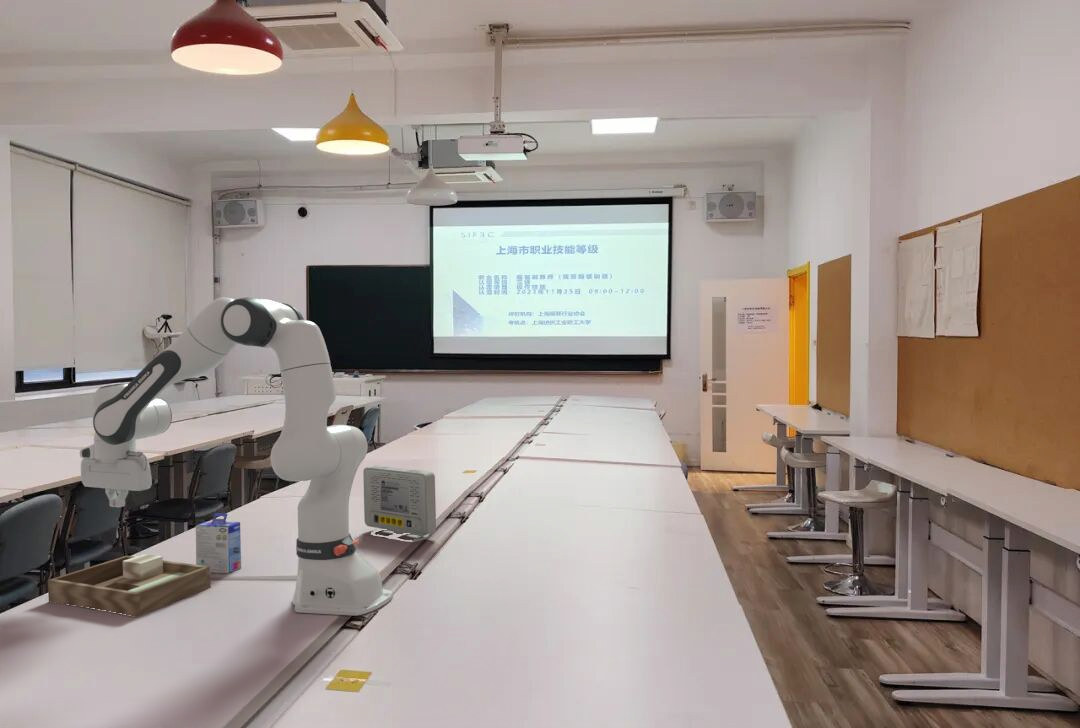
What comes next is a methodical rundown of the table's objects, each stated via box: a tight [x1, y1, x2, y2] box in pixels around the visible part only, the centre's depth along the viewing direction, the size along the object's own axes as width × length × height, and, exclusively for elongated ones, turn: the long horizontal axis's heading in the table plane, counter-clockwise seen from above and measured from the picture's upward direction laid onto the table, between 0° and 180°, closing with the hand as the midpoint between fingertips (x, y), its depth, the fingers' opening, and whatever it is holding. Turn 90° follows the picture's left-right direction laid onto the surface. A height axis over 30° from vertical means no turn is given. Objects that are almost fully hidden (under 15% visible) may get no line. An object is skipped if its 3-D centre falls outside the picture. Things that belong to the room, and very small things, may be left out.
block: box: [123, 553, 164, 580], centre depth 175 cm, size 6×6×4 cm
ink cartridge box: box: [195, 512, 242, 574], centre depth 187 cm, size 10×6×14 cm, turn 78°
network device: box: [362, 465, 437, 543], centre depth 218 cm, size 26×9×20 cm, turn 58°
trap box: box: [47, 555, 211, 618], centre depth 170 cm, size 28×20×5 cm
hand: (117, 506), depth 177 cm, fingers closed
